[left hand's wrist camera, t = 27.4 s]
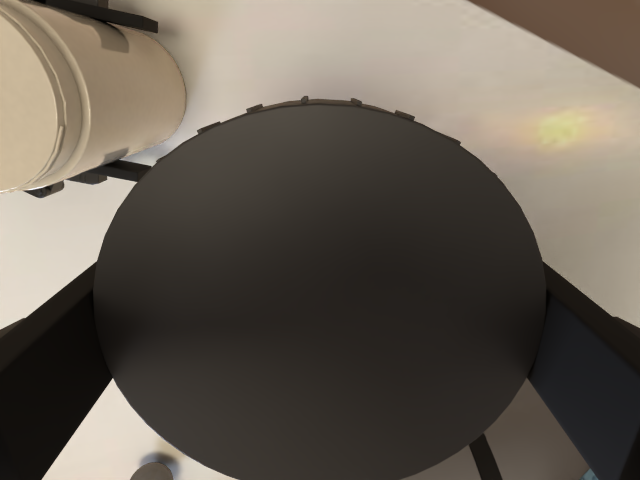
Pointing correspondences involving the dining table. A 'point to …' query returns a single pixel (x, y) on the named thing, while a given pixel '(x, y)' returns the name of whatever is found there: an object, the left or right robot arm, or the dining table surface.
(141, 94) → the jar
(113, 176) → the right robot arm
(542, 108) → the dining table surface
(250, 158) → the lid
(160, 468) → the molecular model
